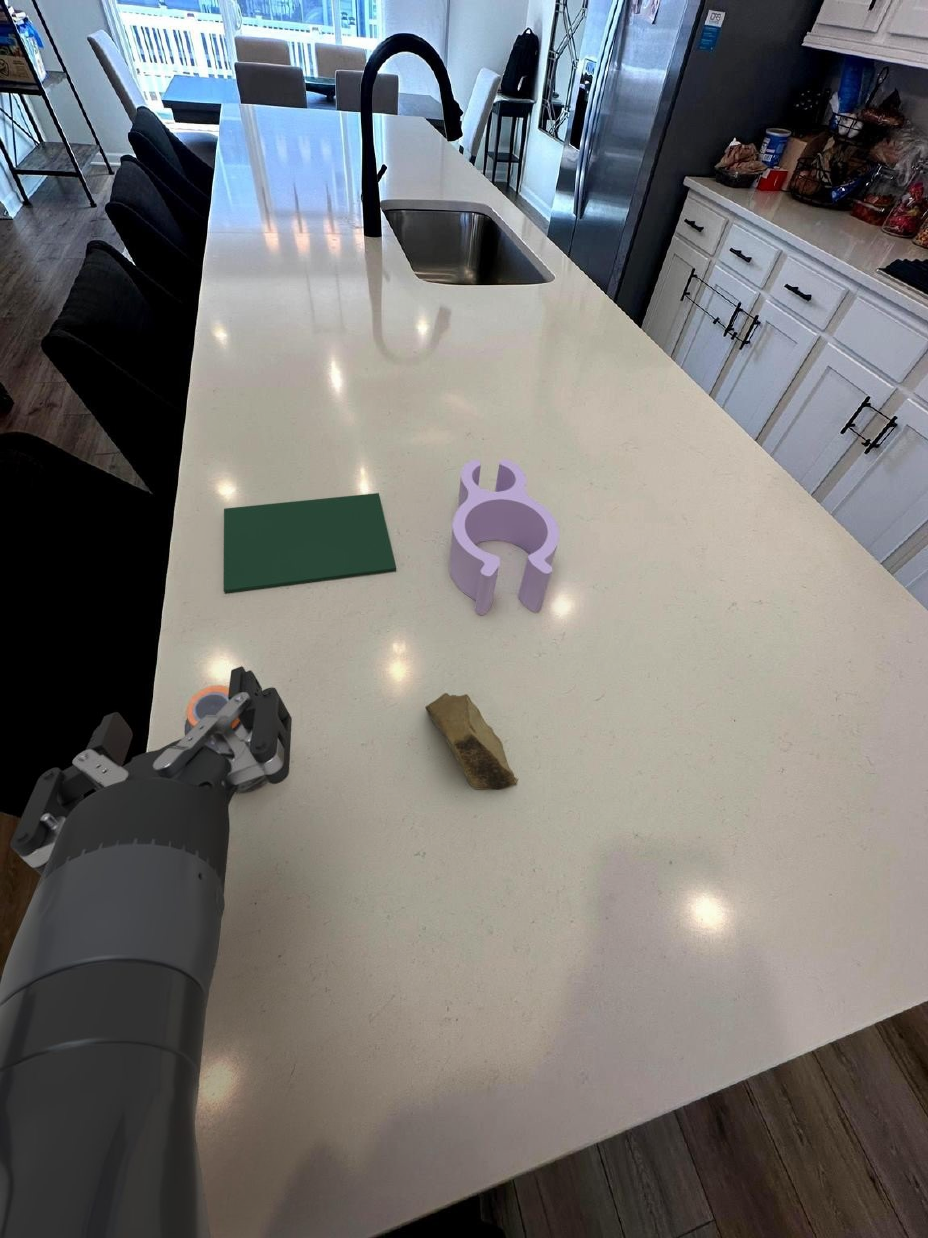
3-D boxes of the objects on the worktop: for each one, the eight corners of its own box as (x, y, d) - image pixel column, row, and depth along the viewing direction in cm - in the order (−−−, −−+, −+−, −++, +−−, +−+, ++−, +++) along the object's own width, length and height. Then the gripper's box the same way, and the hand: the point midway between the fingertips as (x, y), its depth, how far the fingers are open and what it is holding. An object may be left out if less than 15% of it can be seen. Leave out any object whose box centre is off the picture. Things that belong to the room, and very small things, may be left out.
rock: (398, 691, 56) (402, 782, 49) (452, 642, 52) (465, 734, 45) (477, 723, 62) (491, 808, 55) (532, 681, 57) (555, 768, 50)
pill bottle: (280, 731, 55) (254, 669, 46) (278, 789, 51) (250, 736, 42) (215, 738, 54) (177, 677, 45) (209, 798, 50) (166, 745, 41)
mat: (224, 593, 64) (223, 590, 64) (225, 511, 72) (223, 508, 72) (396, 571, 69) (396, 567, 68) (378, 496, 77) (378, 492, 76)
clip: (439, 501, 77) (441, 459, 71) (527, 499, 79) (536, 458, 73) (456, 616, 65) (461, 577, 60) (559, 610, 67) (573, 572, 61)
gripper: (252, 792, 23) (260, 618, 37) (-107, 935, 22) (41, 697, 35) (318, 893, 27) (303, 702, 41) (19, 1021, 26) (108, 777, 39)
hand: (182, 700), depth 38 cm, fingers open, 8 cm apart
